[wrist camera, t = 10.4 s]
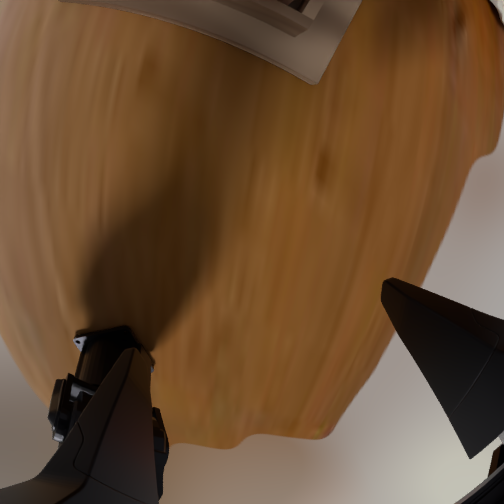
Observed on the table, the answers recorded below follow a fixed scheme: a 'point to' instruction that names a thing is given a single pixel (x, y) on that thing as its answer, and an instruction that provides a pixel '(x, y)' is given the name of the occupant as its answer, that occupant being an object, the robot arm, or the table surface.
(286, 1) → the clay block
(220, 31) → the rack
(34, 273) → the table surface
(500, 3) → the rock
